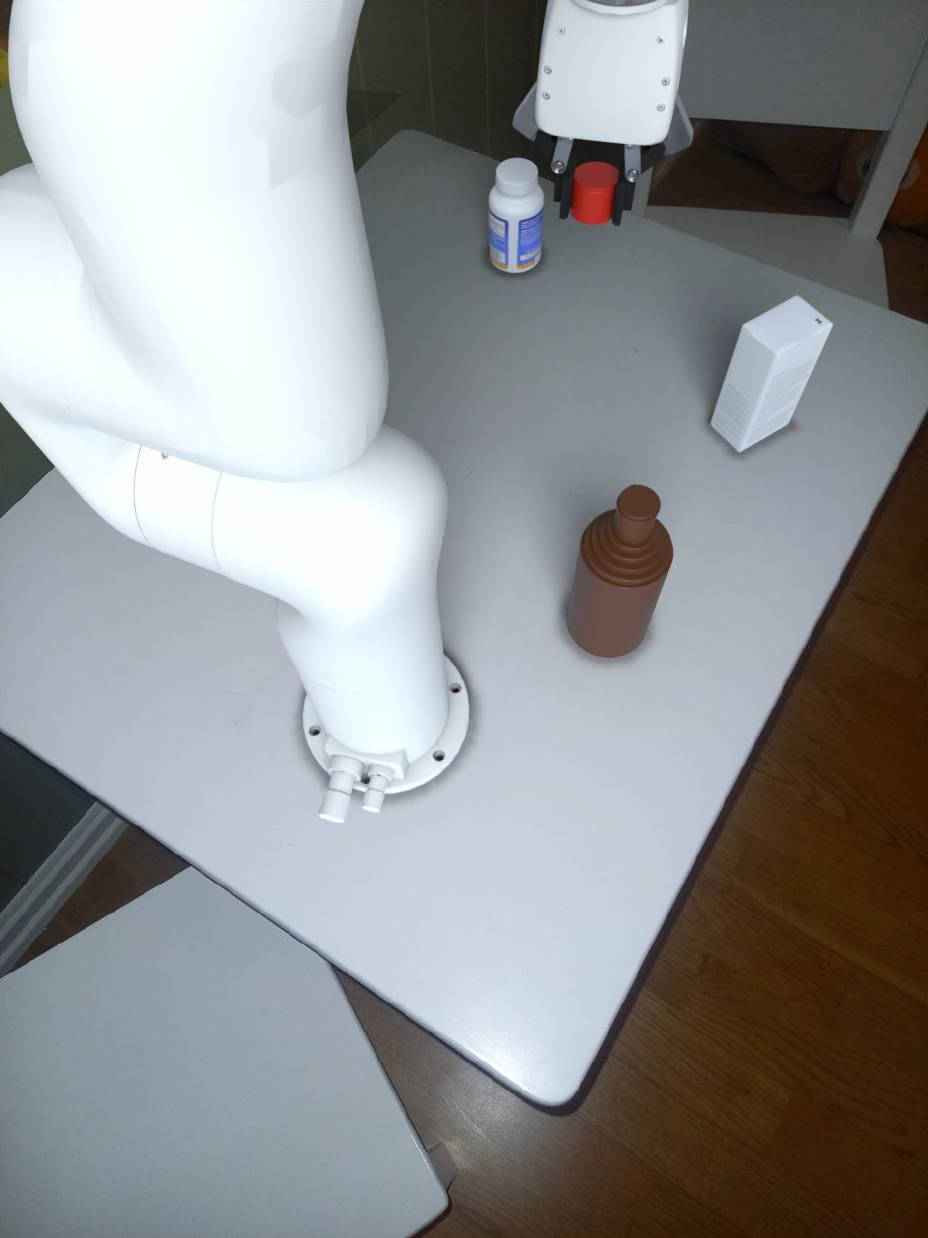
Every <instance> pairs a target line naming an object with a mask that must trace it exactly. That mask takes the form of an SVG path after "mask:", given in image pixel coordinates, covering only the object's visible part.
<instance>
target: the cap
mask: <svg viewBox="0 0 928 1238" xmlns="http://www.w3.org/2000/svg"><path fill="white" fill-rule="evenodd" d="M619 173H620V170H619V169H618V168H617V167H615V166H614V165H612V164H611V163H607V162H602V161H588V162H585V163H581V164H580V165H578V166H576V169H575V173H574V178H573V188H572V198H571V207H570V211H569V214H570V215H571V216H572V218H573V219H574V220H575V221H577V222H578V223H581V224H583V225H589V226H598V225H603V224H606V223H608V222H610V221H612V217H613V210H614V203H615V196H616V189H617V183H618V178H619Z"/></svg>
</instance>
